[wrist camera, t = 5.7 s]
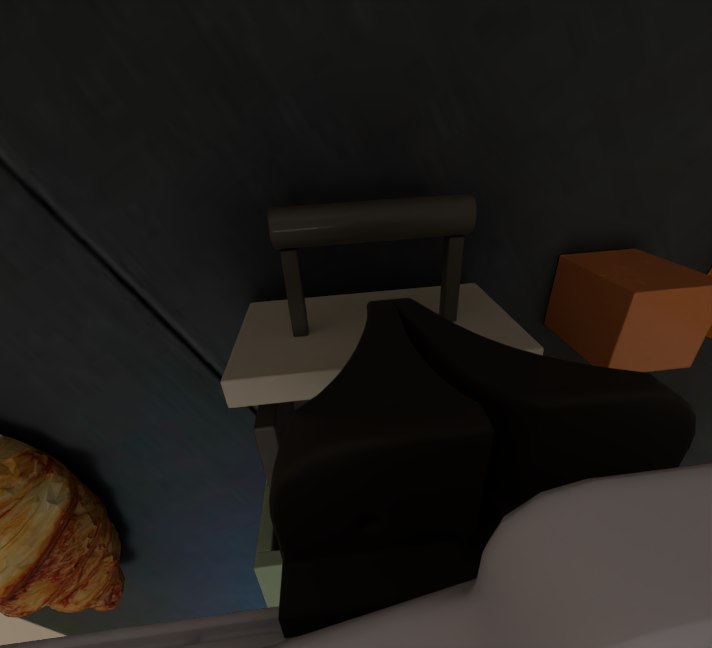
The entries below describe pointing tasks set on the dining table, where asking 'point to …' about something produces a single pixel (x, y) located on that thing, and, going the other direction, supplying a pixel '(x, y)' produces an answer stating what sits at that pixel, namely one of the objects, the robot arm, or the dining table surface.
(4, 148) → the dining table surface
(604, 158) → the dining table surface
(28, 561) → the croissant
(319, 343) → the cream drawer
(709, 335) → the orange juice
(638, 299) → the rust orange cube
